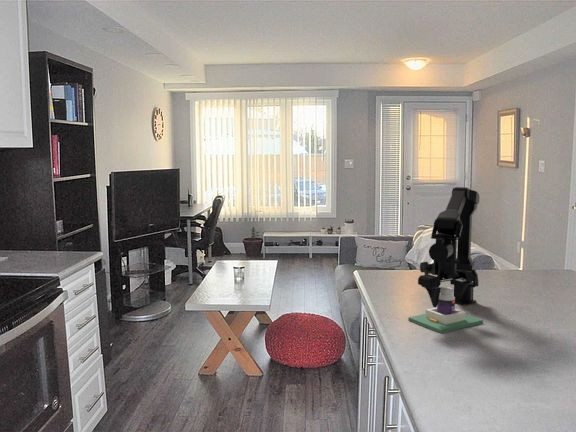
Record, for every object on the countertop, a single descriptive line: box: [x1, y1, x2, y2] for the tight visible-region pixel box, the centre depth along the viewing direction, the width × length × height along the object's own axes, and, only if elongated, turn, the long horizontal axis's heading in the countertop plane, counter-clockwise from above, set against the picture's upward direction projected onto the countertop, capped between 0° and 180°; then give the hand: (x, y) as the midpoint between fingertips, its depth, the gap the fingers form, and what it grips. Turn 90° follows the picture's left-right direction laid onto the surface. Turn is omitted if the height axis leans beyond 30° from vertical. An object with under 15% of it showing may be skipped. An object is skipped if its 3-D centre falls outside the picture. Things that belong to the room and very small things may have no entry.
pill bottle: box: [437, 286, 456, 315], centre depth 171 cm, size 5×5×10 cm
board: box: [407, 307, 484, 334], centre depth 171 cm, size 18×14×4 cm
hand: (445, 304), depth 171 cm, fingers open, 9 cm apart
